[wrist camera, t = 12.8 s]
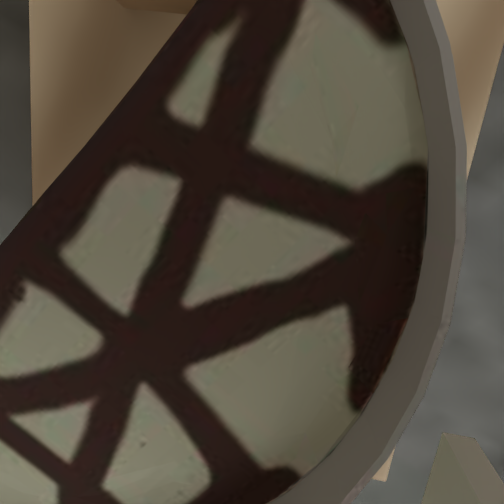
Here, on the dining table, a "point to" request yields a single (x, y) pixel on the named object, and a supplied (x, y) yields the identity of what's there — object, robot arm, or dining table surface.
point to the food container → (240, 265)
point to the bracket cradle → (149, 44)
